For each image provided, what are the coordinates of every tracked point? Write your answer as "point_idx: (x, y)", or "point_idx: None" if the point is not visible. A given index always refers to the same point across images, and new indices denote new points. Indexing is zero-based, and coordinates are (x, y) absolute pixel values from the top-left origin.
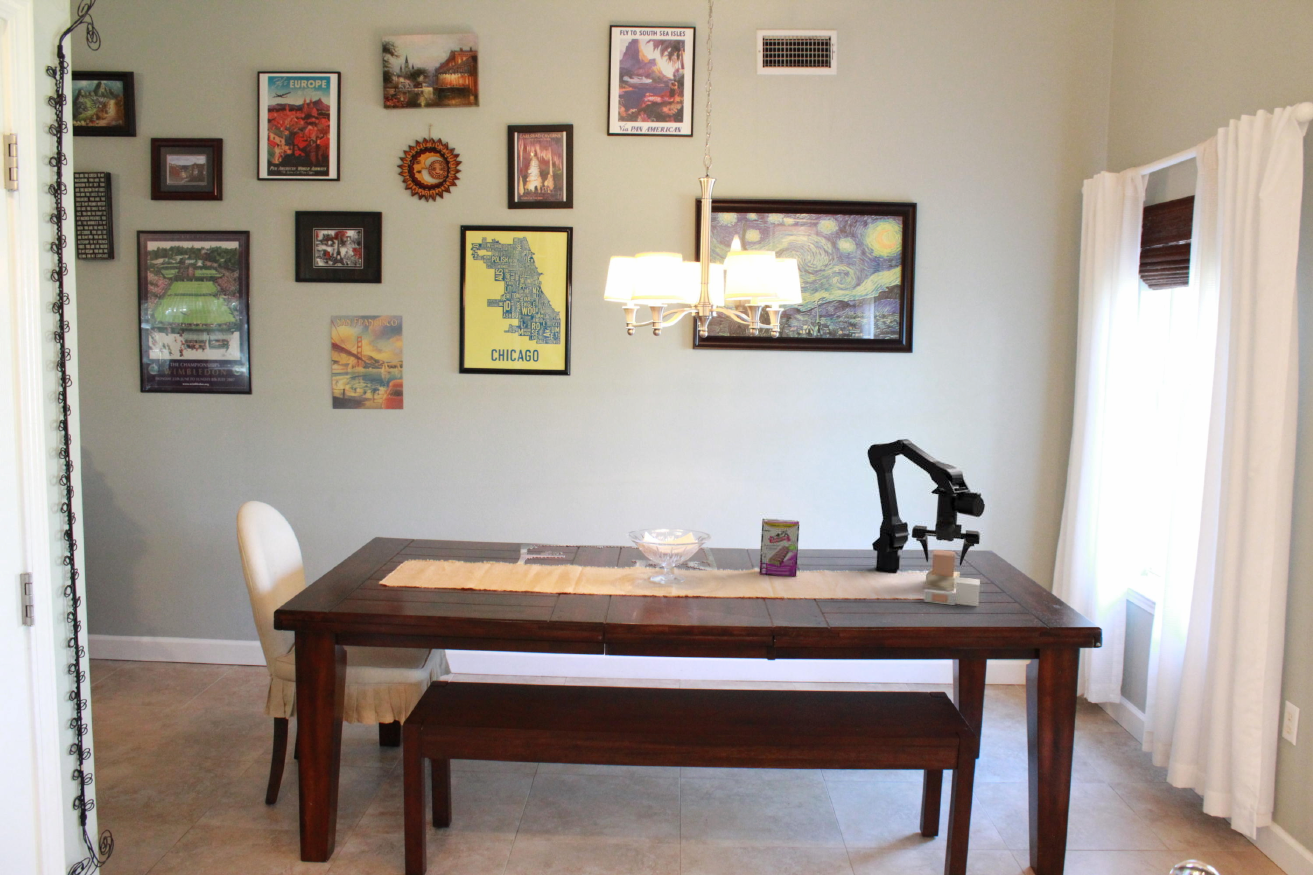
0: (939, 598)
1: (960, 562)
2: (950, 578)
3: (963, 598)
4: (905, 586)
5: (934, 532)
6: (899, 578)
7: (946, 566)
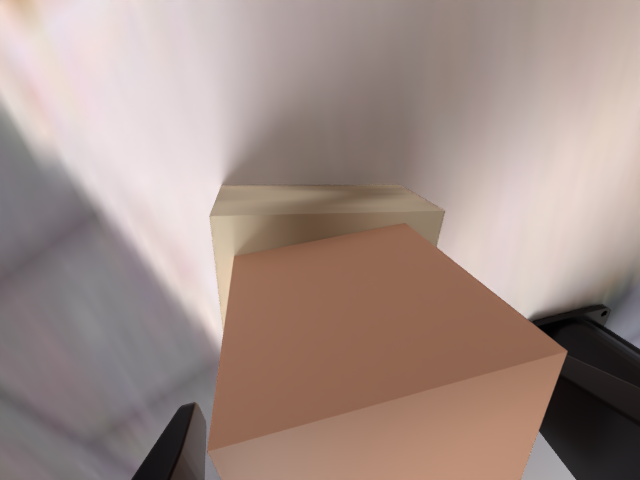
0: None
1: (178, 431)
2: (248, 212)
3: None
4: (513, 101)
5: None
6: (522, 253)
7: (311, 292)
